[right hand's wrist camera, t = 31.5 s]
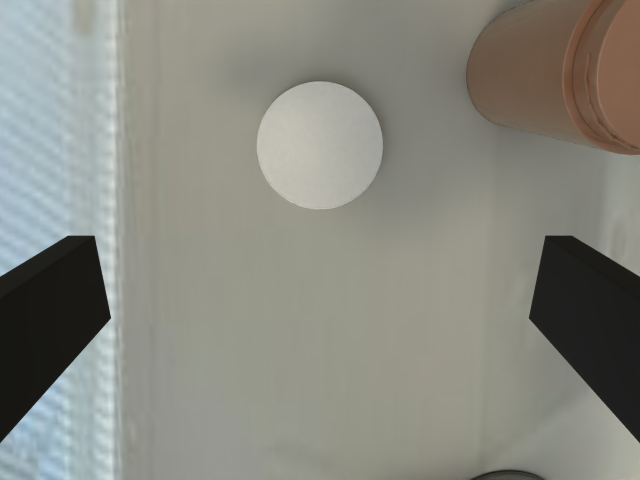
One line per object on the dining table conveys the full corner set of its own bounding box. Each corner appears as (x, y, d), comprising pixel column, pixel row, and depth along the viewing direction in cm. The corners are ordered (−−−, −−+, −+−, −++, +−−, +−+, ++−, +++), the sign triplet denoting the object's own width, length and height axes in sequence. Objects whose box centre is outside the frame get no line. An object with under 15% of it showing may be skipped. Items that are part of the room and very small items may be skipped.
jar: (538, 145, 39) (701, 192, 22) (445, 99, 37) (544, 111, 21) (606, 37, 35) (855, -4, 19) (507, -19, 34) (682, -114, 18)
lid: (270, 68, 36) (267, 67, 34) (393, 96, 37) (398, 96, 35) (252, 190, 40) (248, 196, 38) (363, 212, 41) (366, 220, 39)
